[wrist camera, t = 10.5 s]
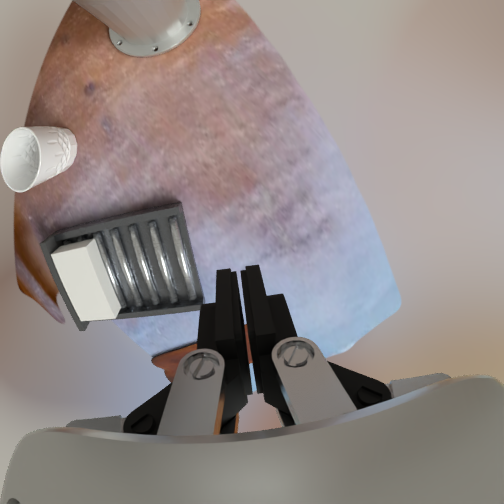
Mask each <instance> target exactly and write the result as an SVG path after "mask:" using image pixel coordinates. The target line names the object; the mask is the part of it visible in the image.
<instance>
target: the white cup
mask: <svg viewBox="0 0 504 504" xmlns="http://www.w3.org/2000/svg"><path fill="white" fill-rule="evenodd" d="M76 155H77V142H76V139H75V135H74V134H73V133H72V132H71V131H70V130H69V129H66V128H62V127H50V126H49V127H48V126H31V127H19V128H16V129H14V130H13V131H12V132H11V133H10V134H9V135H8V136H7V138H6V140H5V141H4V144H3V147H2V150H1V156H0V168H1V173H2V176H3V179H4V181H5V182H6V184H7V185H8V186H9V188H10V189H12V190H13V191H16V192H24V191H27V190H28V189H30V188H32V187H34V186H36V185H38V184H40V183H42V182H44V181H46V180H48V179H50V178H52V177H54V176H56V175H57V174H59V173H61V172H63V171H66V170H67V169H68V168H69V167H70V166H71V165H72V164H73V162H74V159H75V157H76Z"/></svg>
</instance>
